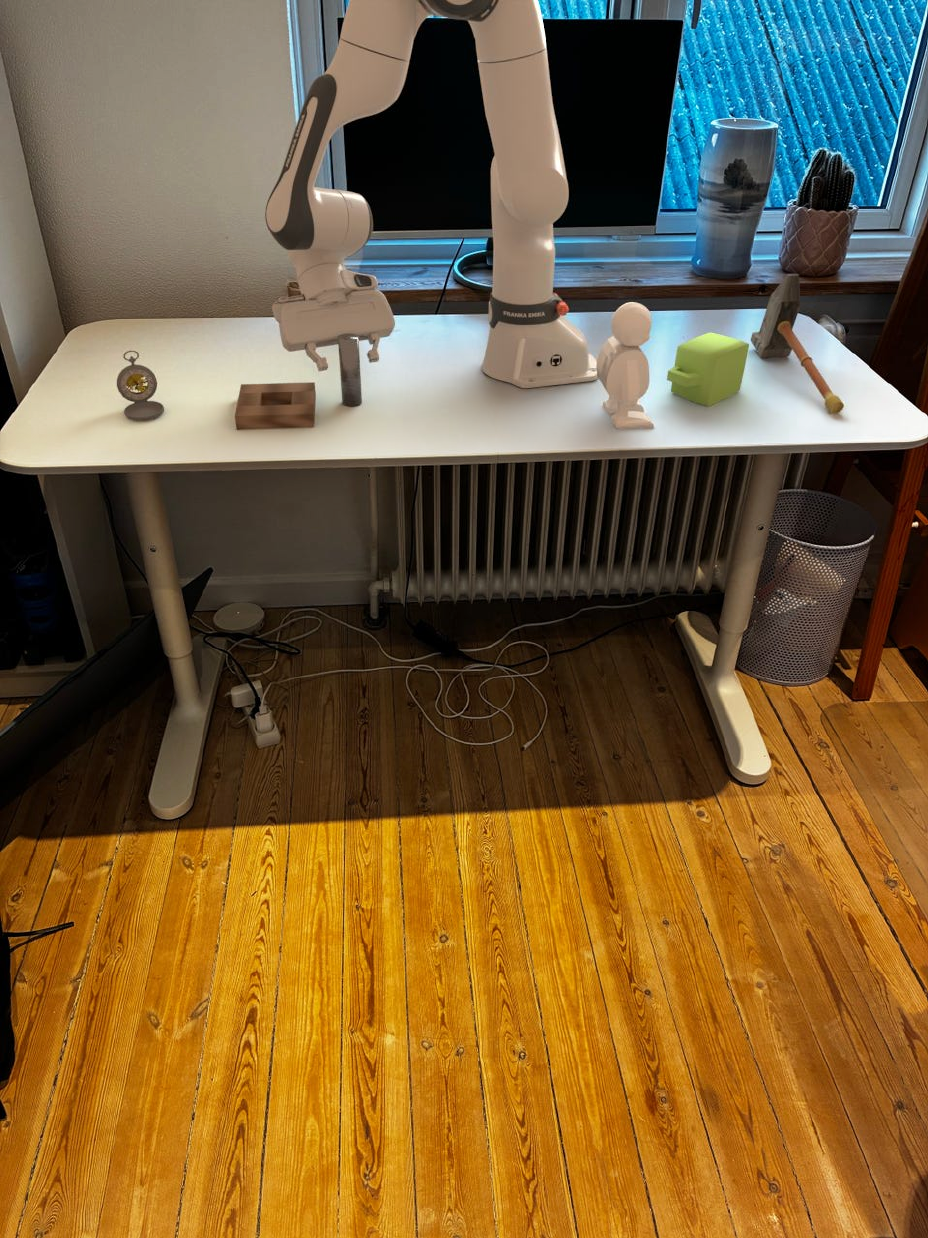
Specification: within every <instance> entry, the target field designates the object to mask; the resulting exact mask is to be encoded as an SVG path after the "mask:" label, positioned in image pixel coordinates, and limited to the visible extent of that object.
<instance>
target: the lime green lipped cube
mask: <svg viewBox="0 0 928 1238" xmlns="http://www.w3.org/2000/svg"><path fill="white" fill-rule="evenodd" d="M749 346H750V343H748V342H746V341H743V340H740V339H737V338H733V337H730V336H726V335H723V334H719V333H714V332H707V333H704V334H702V335H699V336H696V337H694V338H692V339H690V340H688V341H686V342H683V343H681V344H679V345H677V349H676V354H675V361H674V366H673V367H672V368H670V369H668V370H667V374H666V375H667V376H666V381H669V382H671V386H670V388H671V389H670V392H671V393H673V394H675V395H677V396H679V397H682V398H684V399H686V400H689V401H691V402H693V403H695V404H699V405H701V406H704V407H705V406H706V407H711V406H712V405H715V404H717V403H719V402H721V401H723V400H725V399H727V398H729V397H731V396H733V395H734V394H736V393H738V392H739V391H741V388H742V382H743V377H744V373H745V367H746V363H747V359H748V353H749Z"/></svg>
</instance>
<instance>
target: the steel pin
mask: <svg viewBox="0 0 928 1238" xmlns="http://www.w3.org/2000/svg"><path fill="white" fill-rule="evenodd" d="M338 357H339V358H338V359H339V372H340V373H339V374H340V375H339V376H340V388H341V389H340V390H341V402H342V406H345V407H350V408H351V407H359V406H360V405H362V403H363V400H362V395H363V394H362V380H361V379H362V377H361V363H360V362H361V361H360V358H361V357H360V341H359V337H358V335H356V334H352V333H346V334H341V335H339V336H338Z"/></svg>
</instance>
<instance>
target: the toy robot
mask: <svg viewBox="0 0 928 1238" xmlns="http://www.w3.org/2000/svg"><path fill="white" fill-rule="evenodd" d="M652 321H653V320H652V314H651V313H650V310H649V309H648V308H647V307H646V306H645V305H643V304H642V303H638V302H633V301H631V302H630V301H629V302H626V303H624V304H622V305H621V306H619V307H618V308H617V309H616V311H615V312H614V313H613V315H612V317H611V321H610V322H611V323H610V324H611V325H610V326H611V327H610V328H611V334H612V336H610V337H609V338H607V339H606V340H605V342H604V343H603V345H602V346H601V348H600V351H598V352H599V353H598V354H597V355H598V356H597V359H596V361H597V366H596V369H597V375H598V379H599V381H600V383H601V384H602V386H603V387H604V389H605V391H606V393H607V394H608V399H607V400H604V401H603V402H602V407H603V408H604V410H605V412H606V413H607V414H613V415H612V416H611V422H612V423H613V426H614V428H615V429H616V430H617V429H618V430H619V429H620V430H621V429H623V430H624V429H625V430H626V429H655V425H654V422H653V420H652V419H651V418H650V416H649V414H648V413H646V412H645V410H644V407H643V405H642V404H641V402H640V401H639V400H640V399H641V398H642V397H643V396H645V395H646V393H647V391H648V389H649V386H650V365H649V361H648V358H647V356H646V355H645V353H644V351H643V350H642V349H641V348H640V347H641V346H643V345H644V344H646V343H647V342H648V341H649V340H650V338H651V330H652V323H653V322H652Z"/></svg>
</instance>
